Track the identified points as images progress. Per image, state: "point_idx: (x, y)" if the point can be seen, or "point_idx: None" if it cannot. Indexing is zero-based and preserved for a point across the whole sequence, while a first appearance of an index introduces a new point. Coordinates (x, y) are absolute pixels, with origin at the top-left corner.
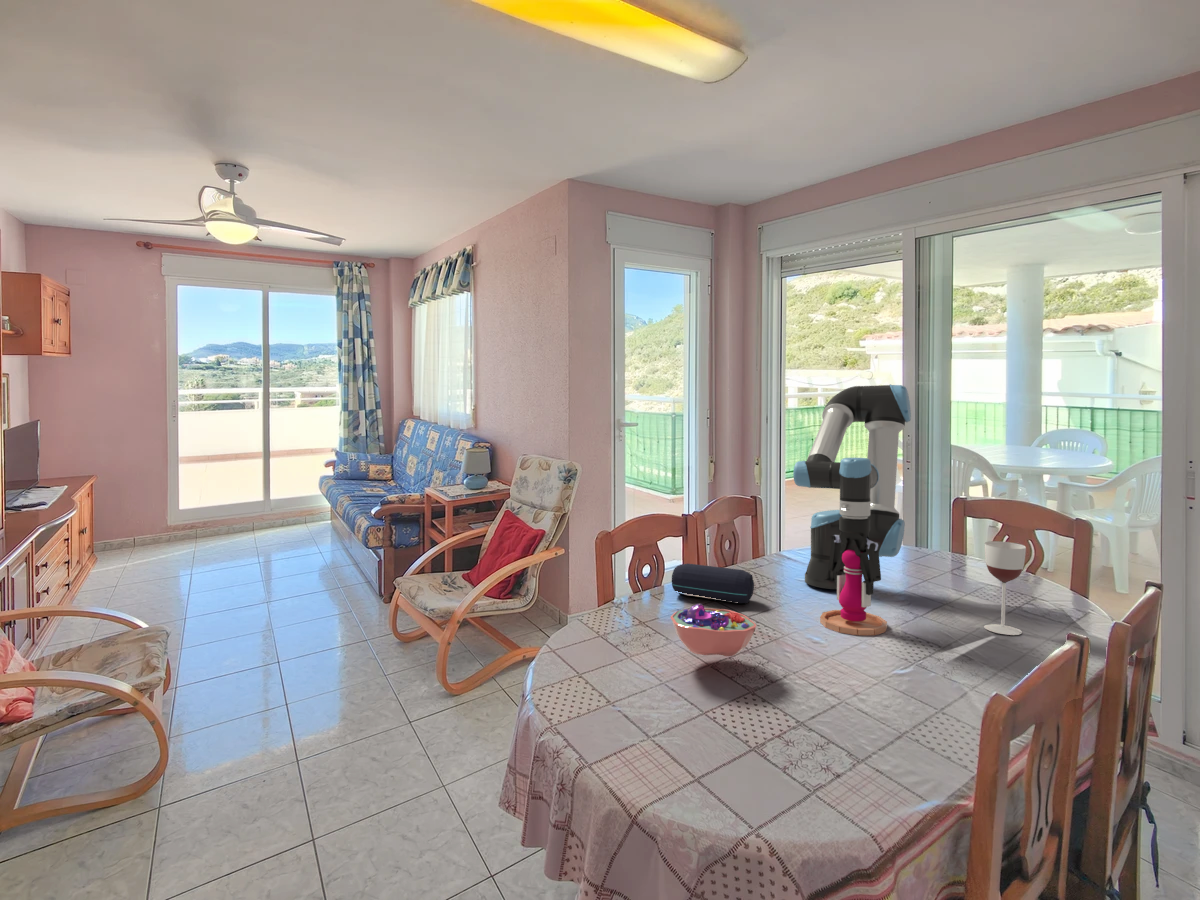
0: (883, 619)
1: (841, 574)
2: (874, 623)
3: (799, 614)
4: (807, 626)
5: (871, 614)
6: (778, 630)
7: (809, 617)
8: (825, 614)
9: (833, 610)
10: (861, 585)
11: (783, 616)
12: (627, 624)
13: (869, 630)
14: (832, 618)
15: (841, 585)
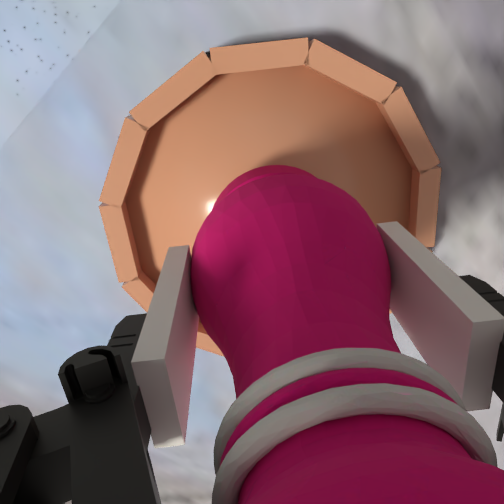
0: (362, 67)
1: (140, 397)
2: (336, 127)
3: (42, 331)
4: (200, 394)
5: (257, 54)
6: (195, 491)
7: (98, 320)
8: (152, 296)
9: (106, 212)
10: (392, 334)
11: (51, 402)
12: None
13: None
14: None
15: (187, 349)
